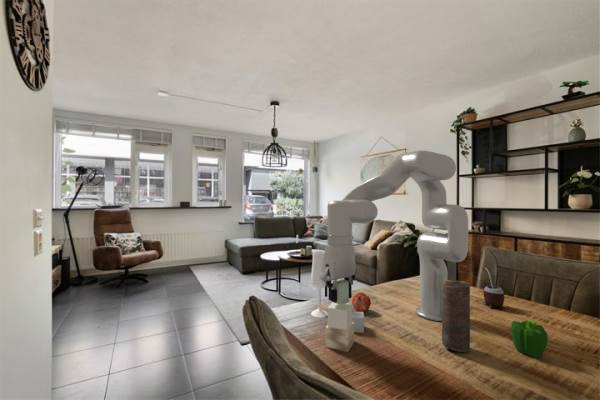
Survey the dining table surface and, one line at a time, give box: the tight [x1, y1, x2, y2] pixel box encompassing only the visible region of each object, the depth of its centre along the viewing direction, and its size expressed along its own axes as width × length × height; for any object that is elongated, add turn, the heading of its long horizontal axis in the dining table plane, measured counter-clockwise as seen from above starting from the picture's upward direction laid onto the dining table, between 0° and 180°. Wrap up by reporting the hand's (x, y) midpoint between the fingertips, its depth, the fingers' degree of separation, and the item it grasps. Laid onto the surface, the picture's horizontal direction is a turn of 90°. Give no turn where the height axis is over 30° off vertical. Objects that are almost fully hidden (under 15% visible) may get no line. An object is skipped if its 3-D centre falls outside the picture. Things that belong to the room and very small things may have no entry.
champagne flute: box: [310, 250, 328, 318], centre depth 108 cm, size 7×7×24 cm
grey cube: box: [352, 310, 365, 334], centre depth 96 cm, size 5×5×5 cm
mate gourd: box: [483, 267, 506, 310], centre depth 115 cm, size 8×8×15 cm
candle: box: [441, 279, 471, 353], centre depth 83 cm, size 8×7×20 cm
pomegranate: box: [351, 291, 372, 313], centre depth 111 cm, size 7×7×10 cm
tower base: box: [324, 322, 355, 353], centre depth 86 cm, size 7×7×6 cm
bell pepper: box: [510, 319, 549, 358], centre depth 81 cm, size 8×8×10 cm
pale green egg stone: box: [331, 278, 350, 304], centre depth 86 cm, size 5×5×6 cm
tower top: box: [327, 301, 353, 331], centre depth 86 cm, size 6×6×6 cm
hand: (340, 298), depth 86 cm, fingers open, 5 cm apart
